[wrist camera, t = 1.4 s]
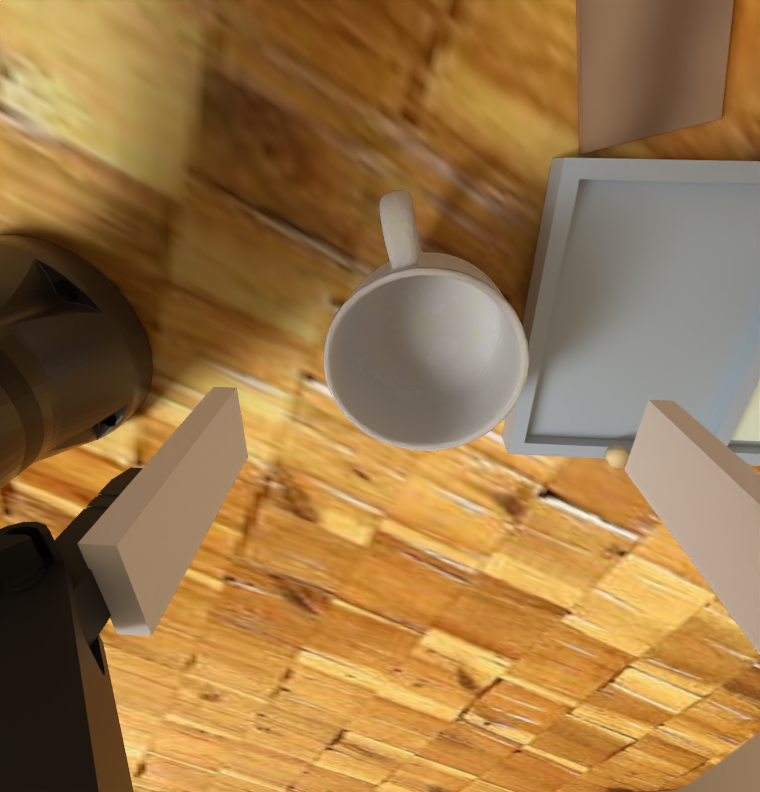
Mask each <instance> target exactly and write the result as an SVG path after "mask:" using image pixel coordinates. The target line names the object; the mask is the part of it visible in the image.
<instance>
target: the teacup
mask: <svg viewBox="0 0 760 792" xmlns="http://www.w3.org/2000/svg"><path fill="white" fill-rule="evenodd" d="M379 207H380V218H381V224H382V229H383V235H384V240H385V244H386V248H387V252H388V256H389V260H390V261H389V262H387V263H385V264H383V265H381V266H380V267H378V268H377V269H376V270H374V271H373V272H372V273H371V274H369V275H368V276H367V277H366V278H365V279H364V280H363V281H362V282H361V283H360V284H359V286H358V287H357V288H356V289H355V290H354V292H353V293H352V295H351V296H350V297H349V298H348V299H347V300H346V301H345V303H344V304H343V305H342V307H341V308H340V309H339V311H338V312H337V314H336V315H335V317H334V319H333V321H332V323H331V325H330V328H329V331H328V334H327V337H326V341H325V347H324V371H325V377H326V381H327V385H328V387H329V390H330V393H331V395H332V396H333V398H334V400H335V402H336V403H337V405H338V407H339V408H340V410H341V411H342V412H343V413H344V414H345V415H346V417H347V418H348V419H349V420H350V421H351V422H352V423H353V424H354V425H356V426H357V427H358V428H359V429H360V430H362V431H363V432H365V433H366V434H368V435H370V436H371V437H373V438H375V439H377V440H379V441H381V442H384V443H387V444H390V445H393V446H396V447H401V448H406V449H411V450H425V451H439V450H441V449H449V448H453V447H457V446H461V445H464V444H466V443H469V442H471V441H473V440H476V439H478V438H480V437H482V436H483V435H485V434H486V433H488V432H489V431H491V430H492V429H493V428H495V427H496V426H497V425H498V424H499V423H500V422H501V421H502V420H503V419H504V418H505V417H506V416H507V415H508V414H509V412H510V411H511V410H512V409H513V407H514V406H515V404H516V403H517V401H518V399H519V397H520V395H521V393H522V391H523V388H524V385H525V383H526V379H527V375H528V367H529V348H528V341H527V338H526V335H525V330H524V328H523V326H522V324H521V322H520V319H519V317H518V315H517V314H516V312H515V310H514V308H513V307H512V306H511V305H510V304H509V303H508V302H507V300H506V299H505V298H504V296H503V295H502V293H501V292H500V290H499V289H498V287H497V286H496V285H495V284H494V282H493V281H492V280H491V279H490V278H489V277H488V276H487V275H486V274H485V273H483V272H482V271H481V270H480V269H478V268H477V267H476V266H474V265H472V264H471V263H469V262H467V261H465V260H463V259H460V258H458V257H455V256H452V255H448V254H443V253H434V252H423V251H422V250H421V247H420V243H419V237H418V232H417V226H416V221H415V215H414V208H413V203H412V198H411V195H410V193H409V192H407V191H404V190H398V191H394V192H390V193H387V194H385V195H384V196H383V197H382V198H381V200H380V204H379Z"/></svg>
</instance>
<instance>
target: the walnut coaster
mask: <svg viewBox="0 0 760 792" xmlns="http://www.w3.org/2000/svg"><path fill="white" fill-rule="evenodd" d="M733 3H734V0H576V25H577V74H578V123H579V154H584V153H588V152H592V151H596V150H600V149H604V148H608V147H611V146H615V145H619V144H623V143H627V142H631V141H635V140H639V139H643V138H647V137H651V136H655V135H659V134H663V133H667V132H671V131H675V130H679V129H683V128H687V127H691V126H695V125H699V124H703V123H707V122H711V121H715V120H719V119H721V117H722V108H723V98H724V89H725V79H726V70H727V60H728V51H729V41H730V31H731V22H732V12H733Z"/></svg>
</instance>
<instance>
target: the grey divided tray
mask: <svg viewBox="0 0 760 792" xmlns="http://www.w3.org/2000/svg"><path fill="white" fill-rule="evenodd" d="M522 326H523V328H524V330H525V335H526V338H527V341H528V348H529V367H528V375H527V379H526V383H525V385H524V388H523V391H522V393H521V395H520V397H519V399H518V401H517V403H516V404H515V406H514V407H513V409H512V410H511V411H510V412H509V414H508V415H507V416H506V419H505V425H504V430H503V436H502V438H503V441H504V444H505V447H506V449H507V452H508V454H522V455H543V456H564V457H585V458H606V460H607V461H608V463H609V464H610V465H611V466H612V467H615V468H620V467H623V466H625V465H626V464H627V461H628V458H629V455H630V452H631V449H632V447H633V444H634V441H635V438H636V435H637V432H638V429H639V426H640V423H641V420H642V417H643V414H644V411H645V409H646V406H647V403H648V400H671V401H675V402H676V403H677V404H678V405H679V406H680V407H681V408H683V409H684V410H685V411H686V412H687V413H688V414H690V415H691V416H692V417H693V418H694V419H695V420H697V421H698V422H699V423H700V424H701V425H702V426H704V427H705V428H706V429H707V430H708V431H709V432H711V433H712V434H713V435H714V436H715V437H716V438H718V439H719V440H720V441H721V442H722V443H723V444H725V445H726V446H727V447H728V448H729V449H730V450H732V451H733V452H734V453H735V454H736V455H737V456H739V457H740V458H741V459H742V460H743V461H744V462H745V463H747V464H748V465H755V466H760V161H720V160H668V159H616V158H552V163H551V169H550V174H549V180H548V185H547V191H546V196H545V202H544V208H543V213H542V219H541V224H540V230H539V235H538V241H537V247H536V252H535V258H534V263H533V269H532V274H531V280H530V286H529V291H528V297H527V302H526V308H525V313H524V319H523V324H522Z"/></svg>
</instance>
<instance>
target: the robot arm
mask: <svg viewBox="0 0 760 792" xmlns="http://www.w3.org/2000/svg"><path fill="white" fill-rule="evenodd" d="M151 380H152V357H151V351H150V347H149V343H148V340H147V337H146V334H145V332H144V329H143V327H142V325H141V323H140V321H139V319H138V317H137V315H136V314H135V312H134V310H133V309H132V307H131V306H130V304H129V303H128V302H127V300H126V299H125V298H124V296H123V295H122V294H121V293H120V292H119V291H118V289H117V288H116V287H115V286H114V285H113V284H112V283H111V282H110V281H109V280H108V279H107V278H106V277H105V276H104V275H103V274H101V273H100V272H99V271H98V270H97V269H95V268H94V267H93V266H91V265H90V264H89V263H87V262H86V261H84V260H83V259H81V258H80V257H78V256H76V255H75V254H73V253H71V252H69V251H67V250H65V249H63V248H61V247H59V246H57V245H54V244H52V243H49V242H46V241H43V240H40V239H36V238H32V237H27V236H21V235H0V489H1V488H2V487H3V486H4V485H6V484H7V483H8V482H9V481H11V480H12V479H13V478H14V477H16V476H17V475H18V474H19V473H21V472H22V471H23V470H25V469H26V468H27V467H29V466H30V465H31V464H33V463H34V462H37V461H39V460H42V459H45V458H48V457H51V456H53V455H56V454H59V453H62V452H64V451H67V450H70V449H73V448H75V447H78V446H81V445H84V444H87V443H89V442H92V441H95V440H98V439H100V438H102V437H104V436H106V435H108V434H109V433H111V432H113V431H114V430H116V429H117V428H118V427H119V426H121V425H122V424H123V423H124V422H125V421H126V420H127V419H128V418H130V417H131V416H132V415H133V414H134V413H135V412H136V411H137V410H138V409H139V408H140V406H141V405H142V404H143V402H144V400H145V398H146V396H147V394H148V392H149V388H150V385H151ZM247 458H248V454H247V448H246V442H245V436H244V430H243V424H242V418H241V412H240V406H239V400H238V394H237V388H228V387H213V388H212V389H211V390H210V392H209V393H208V394H207V395H206V396H205V397H204V398H203V400H202V401H201V402H200V403H199V404H198V405H197V407H196V408H195V409H194V410H193V411H192V412H191V413H190V415H189V416H188V417H187V418H186V419H185V420H184V421H183V423H182V424H181V425H180V426H179V427H178V428H177V430H176V431H175V432H174V433H173V434H172V435H171V436H170V438H169V439H168V440H167V441H166V442H165V443H164V445H163V446H162V447H161V448H160V449H159V450H158V451H157V453H156V454H155V455H154V456H153V457H152V458H151V460H150V461H149V462H148V463H147V464H146V465H145V466H144V468H129V469H128V470H126V471H125V472H123V473H121V474H120V475H118V476H117V477H115V478H114V479H112V480H111V481H110V482H109V483H108V484H107V485H106V486H105V487H104V488H103V489H102V490H101V492H100V493H99V494H98V497H95V498H94V499H93V500H92V501H91V502H90V503H89V504H88V505H87V509H84V510H83V511H82V512H81V513H80V514H79V515H78V516H77V517H76V518H75V519H74V520H73V521H72V522H71V524H70V525H69V526H68V527H67V528H66V529H65V530H64V531H63V532H62V533H61V534H60V535H59V536H58V537H57V538H56V540H55V541H54V539H53V537H52V535H51V533H50V531H49V529H48V528H47V526H46V525H45V524H42V523H39V522H22V523H18V524H14V525H10V526H6V527H4V528H2V529H0V792H133V787H132V782H131V777H130V772H129V767H128V762H127V757H126V753H125V748H124V743H123V738H122V733H121V728H120V723H119V718H118V714H117V709H116V704H115V699H114V694H113V689H112V684H111V679H110V675H109V670H108V665H107V660H106V655H105V650H104V645H103V642H102V640H101V638H100V635H99V633H100V632H101V630H102V629H103V627H104V626H105V624H106V623H107V621H108V620H109V618H111V620H112V623H113V625H114V627H115V629H116V632H117V634H124V635H143V636H152V634H153V632H154V631H155V629H156V627H157V625H158V623H159V621H160V619H161V618H162V616H163V614H164V612H165V610H166V608H167V606H168V605H169V603H170V601H171V599H172V597H173V595H174V593H175V592H176V590H177V588H178V586H179V584H180V582H181V580H182V579H183V577H184V575H185V573H186V571H187V569H188V567H189V566H190V564H191V562H192V560H193V558H194V556H195V554H196V553H197V551H198V549H199V547H200V545H201V543H202V541H203V540H204V538H205V536H206V534H207V532H208V530H209V528H210V527H211V525H212V523H213V521H214V519H215V517H216V515H217V514H218V512H219V510H220V508H221V506H222V504H223V502H224V501H225V499H226V497H227V495H228V493H229V491H230V489H231V488H232V486H233V484H234V482H235V480H236V478H237V476H238V475H239V473H240V471H241V469H242V467H243V465H244V463H245V461H246V460H247ZM625 472H626V473H627V475H628V476H629V477H630V479H631V480H632V481H633V483H634V484H635V485H636V487H637V488H638V490H639V491H640V492H641V494H642V495H643V496H644V498H645V499H646V501H647V502H648V503H649V505H650V506H651V507H652V509H653V510H654V511H655V513H656V514H657V516H658V517H659V518H660V520H661V521H662V522H663V524H664V525H665V526H666V528H667V529H668V531H669V532H670V533H671V535H672V536H673V537H674V539H675V540H676V541H677V543H678V544H679V546H680V547H681V548H682V550H683V551H684V552H685V554H686V555H687V556H688V558H689V559H690V561H691V562H692V563H693V565H694V566H695V567H696V569H697V570H698V572H699V573H700V574H701V576H702V577H703V578H704V580H705V581H706V582H707V584H708V585H709V587H710V588H711V589H712V591H713V592H714V593H715V595H716V596H717V597H718V599H719V600H720V602H721V603H722V604H723V606H724V607H725V608H726V610H727V611H728V612H729V614H730V615H731V617H732V618H733V619H734V621H735V622H736V623H737V625H738V626H739V627H740V629H741V630H742V632H743V633H744V634H745V636H746V637H747V638H748V640H749V641H750V643H751V644H752V645H753V647H754V648H755V649H756V651H757V652H758V653H759V655H760V475H759V474H758V473H757V472H756V471H755V470H754V469H752V468H751V467H750V466H749V465H748V464H747V463H745V462H744V461H743V460H742V459H741V458H740V457H739V456H737V455H736V454H735V453H734V452H733V451H732V450H730V449H729V448H728V447H727V446H726V445H725V444H723V443H722V442H721V441H720V440H719V439H718V438H716V437H715V436H714V435H713V434H712V433H711V432H709V431H708V430H707V429H706V428H705V427H704V426H702V425H701V424H700V423H699V422H698V421H697V420H695V419H694V418H693V417H692V416H691V415H690V414H688V413H687V412H686V411H685V410H684V409H683V408H681V407H680V406H679V405H678V404H677V403H676V402H675V401H671V400H648V403H647V406H646V409H645V411H644V414H643V417H642V420H641V423H640V426H639V429H638V432H637V435H636V438H635V441H634V444H633V447H632V449H631V452H630V455H629V458H628V461H627V464H626V467H625Z"/></svg>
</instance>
